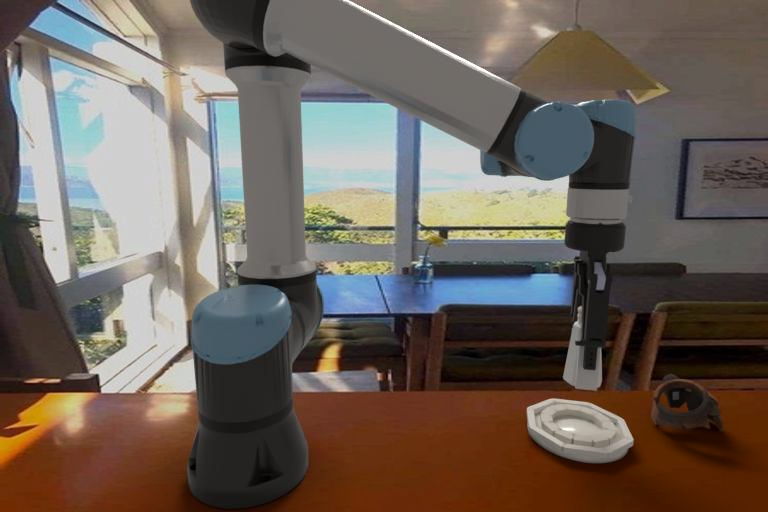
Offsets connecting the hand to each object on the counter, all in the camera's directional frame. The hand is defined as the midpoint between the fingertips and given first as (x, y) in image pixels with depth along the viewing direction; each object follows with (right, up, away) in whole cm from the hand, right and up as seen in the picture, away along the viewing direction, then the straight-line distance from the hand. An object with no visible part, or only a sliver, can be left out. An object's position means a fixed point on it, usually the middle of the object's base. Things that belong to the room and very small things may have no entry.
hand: (582, 378), depth 68 cm
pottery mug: (+18, -8, +5) cm, 20 cm away
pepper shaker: (0, 0, 0) cm, 0 cm away
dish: (0, -9, +2) cm, 9 cm away
